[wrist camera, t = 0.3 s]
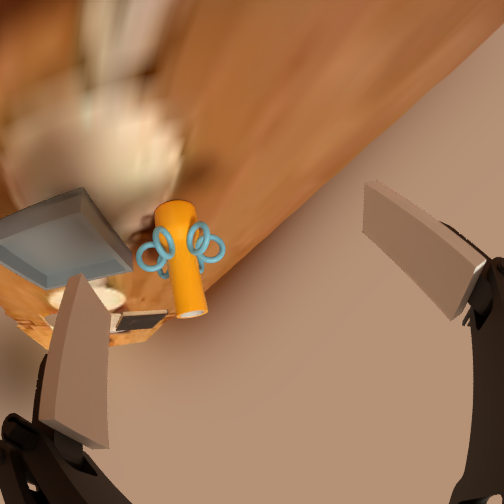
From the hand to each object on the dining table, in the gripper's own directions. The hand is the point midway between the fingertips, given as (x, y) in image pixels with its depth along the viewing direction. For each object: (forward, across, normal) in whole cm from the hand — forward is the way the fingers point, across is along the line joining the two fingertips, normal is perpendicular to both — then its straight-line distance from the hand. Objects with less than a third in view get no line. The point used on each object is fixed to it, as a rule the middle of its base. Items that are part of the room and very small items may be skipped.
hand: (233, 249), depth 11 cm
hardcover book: (+62, -35, -60) cm, 93 cm away
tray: (+28, -24, -8) cm, 38 cm away
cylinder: (+27, -5, -10) cm, 29 cm away
